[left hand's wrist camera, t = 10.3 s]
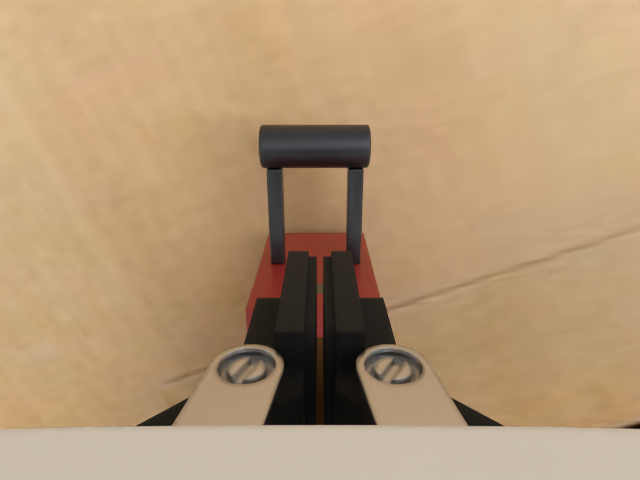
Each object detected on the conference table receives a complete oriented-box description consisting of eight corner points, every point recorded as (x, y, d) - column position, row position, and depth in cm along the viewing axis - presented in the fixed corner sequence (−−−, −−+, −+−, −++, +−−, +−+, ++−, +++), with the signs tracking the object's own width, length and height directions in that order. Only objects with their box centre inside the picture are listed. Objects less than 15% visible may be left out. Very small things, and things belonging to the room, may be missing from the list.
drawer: (263, 116, 21) (233, 140, 14) (367, 115, 21) (393, 140, 14) (278, 454, 28) (264, 588, 21) (356, 453, 28) (368, 587, 21)
